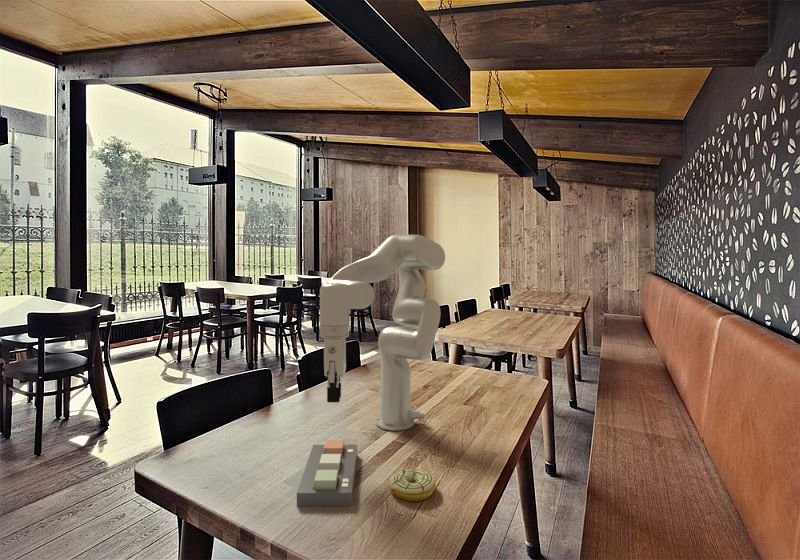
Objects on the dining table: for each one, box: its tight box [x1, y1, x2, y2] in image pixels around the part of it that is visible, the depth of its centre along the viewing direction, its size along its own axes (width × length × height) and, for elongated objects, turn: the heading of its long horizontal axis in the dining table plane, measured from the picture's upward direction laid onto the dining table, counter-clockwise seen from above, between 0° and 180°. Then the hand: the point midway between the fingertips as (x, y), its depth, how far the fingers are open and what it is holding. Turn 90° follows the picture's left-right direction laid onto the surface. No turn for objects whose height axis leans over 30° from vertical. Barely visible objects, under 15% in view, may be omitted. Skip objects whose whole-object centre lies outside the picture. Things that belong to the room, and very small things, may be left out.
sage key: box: [314, 470, 338, 490], centre depth 104 cm, size 5×5×3 cm
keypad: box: [296, 444, 358, 507], centre depth 112 cm, size 12×24×3 cm, turn 2°
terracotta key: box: [323, 439, 345, 456], centre depth 119 cm, size 5×5×3 cm
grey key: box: [319, 454, 341, 472], centre depth 112 cm, size 5×5×3 cm
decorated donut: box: [389, 468, 436, 502], centre depth 107 cm, size 10×11×4 cm
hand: (334, 399), depth 118 cm, fingers open, 2 cm apart
